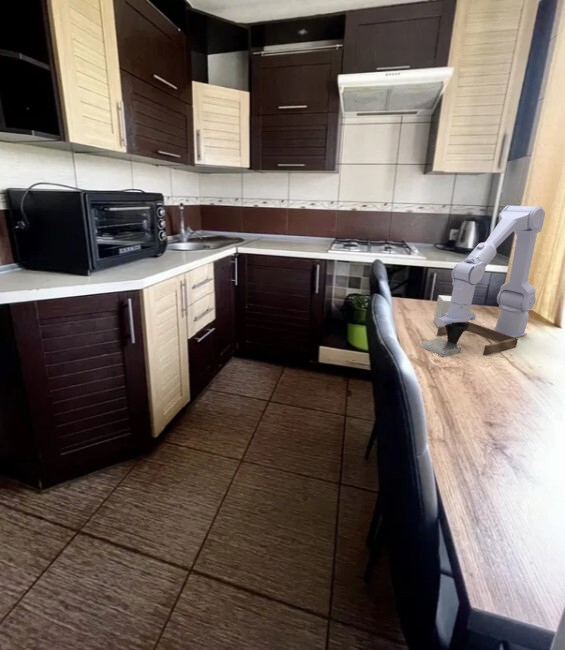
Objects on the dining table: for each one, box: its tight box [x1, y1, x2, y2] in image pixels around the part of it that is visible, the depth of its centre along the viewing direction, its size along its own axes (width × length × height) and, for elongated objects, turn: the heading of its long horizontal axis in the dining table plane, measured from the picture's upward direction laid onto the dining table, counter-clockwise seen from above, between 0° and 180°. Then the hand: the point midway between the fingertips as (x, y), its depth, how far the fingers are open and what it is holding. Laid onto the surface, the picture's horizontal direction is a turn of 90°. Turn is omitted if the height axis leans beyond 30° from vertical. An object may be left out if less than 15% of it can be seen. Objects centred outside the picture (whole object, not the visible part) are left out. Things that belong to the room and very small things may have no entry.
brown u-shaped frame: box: [436, 321, 519, 356], centre depth 113 cm, size 15×18×3 cm
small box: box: [433, 294, 452, 328], centre depth 126 cm, size 8×6×10 cm
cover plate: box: [421, 337, 463, 358], centre depth 106 cm, size 8×8×2 cm
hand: (451, 343), depth 108 cm, fingers closed
